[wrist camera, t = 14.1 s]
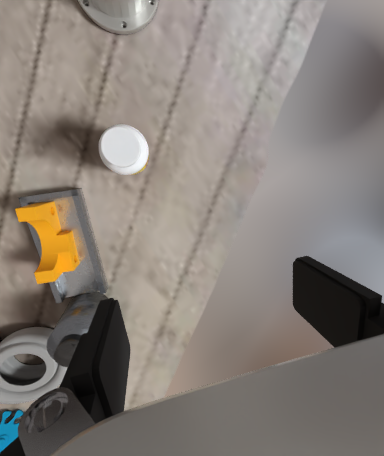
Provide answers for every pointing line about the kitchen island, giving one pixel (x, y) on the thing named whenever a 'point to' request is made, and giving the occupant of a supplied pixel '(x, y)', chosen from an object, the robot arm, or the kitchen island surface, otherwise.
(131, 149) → the supplement bottle
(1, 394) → the turbocharger housing
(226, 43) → the kitchen island surface
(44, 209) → the pipe clamp
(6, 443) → the gear
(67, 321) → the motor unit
